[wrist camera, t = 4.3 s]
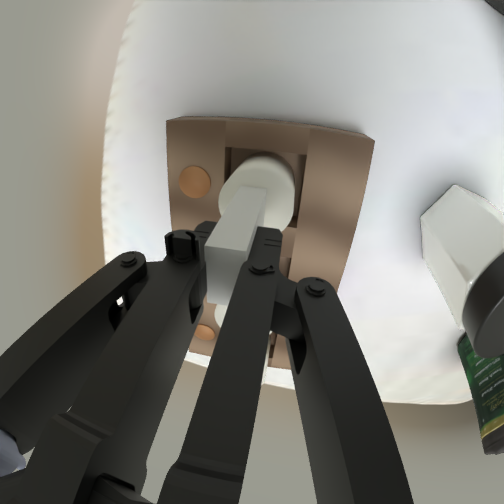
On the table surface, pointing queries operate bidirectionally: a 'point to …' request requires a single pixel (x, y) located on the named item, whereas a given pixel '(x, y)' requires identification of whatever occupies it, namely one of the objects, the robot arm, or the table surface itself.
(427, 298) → the table surface
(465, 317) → the jar
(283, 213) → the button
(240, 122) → the button board
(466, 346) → the coffee jar
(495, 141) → the table surface
